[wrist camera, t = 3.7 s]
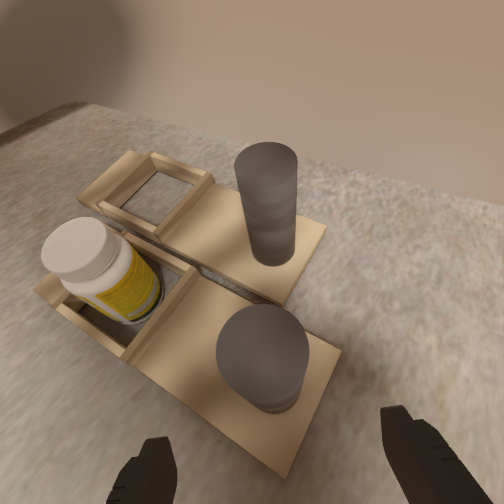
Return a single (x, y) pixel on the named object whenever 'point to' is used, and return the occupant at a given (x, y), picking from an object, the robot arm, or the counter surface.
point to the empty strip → (223, 216)
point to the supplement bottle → (102, 270)
